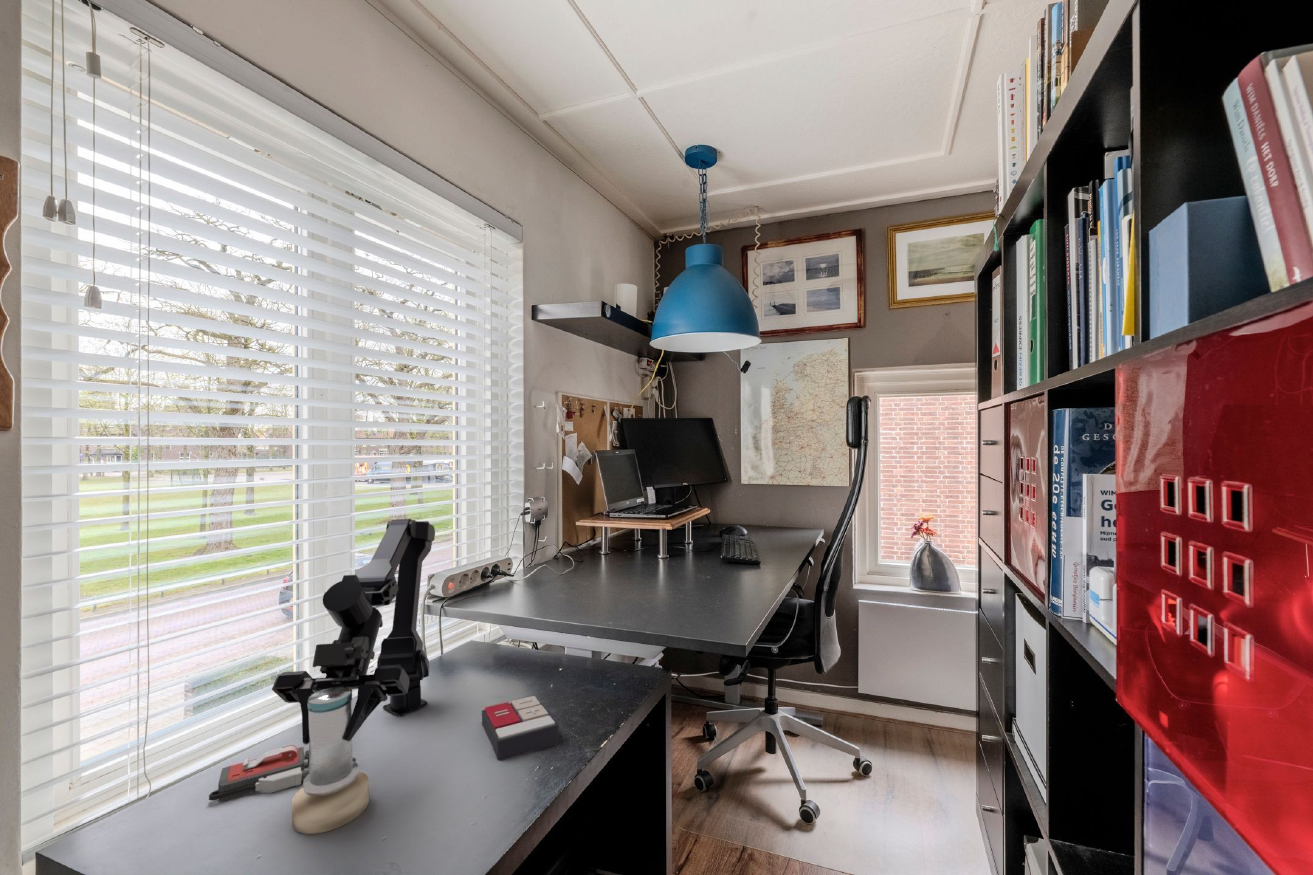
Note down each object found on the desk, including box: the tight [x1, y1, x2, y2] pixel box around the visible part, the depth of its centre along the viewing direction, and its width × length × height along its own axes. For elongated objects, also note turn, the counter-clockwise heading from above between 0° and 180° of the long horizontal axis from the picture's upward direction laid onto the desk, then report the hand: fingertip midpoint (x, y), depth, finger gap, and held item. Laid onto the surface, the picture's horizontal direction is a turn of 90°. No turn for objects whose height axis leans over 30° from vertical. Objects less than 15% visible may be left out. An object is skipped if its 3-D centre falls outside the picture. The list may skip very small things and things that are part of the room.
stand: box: [291, 771, 370, 835], centre depth 83 cm, size 10×10×3 cm
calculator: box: [481, 695, 560, 761], centre depth 105 cm, size 11×4×15 cm
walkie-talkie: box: [208, 744, 357, 802], centre depth 92 cm, size 9×4×20 cm
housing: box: [302, 686, 360, 796], centre depth 83 cm, size 7×7×13 cm
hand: (326, 741), depth 82 cm, fingers closed on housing, 6 cm apart
